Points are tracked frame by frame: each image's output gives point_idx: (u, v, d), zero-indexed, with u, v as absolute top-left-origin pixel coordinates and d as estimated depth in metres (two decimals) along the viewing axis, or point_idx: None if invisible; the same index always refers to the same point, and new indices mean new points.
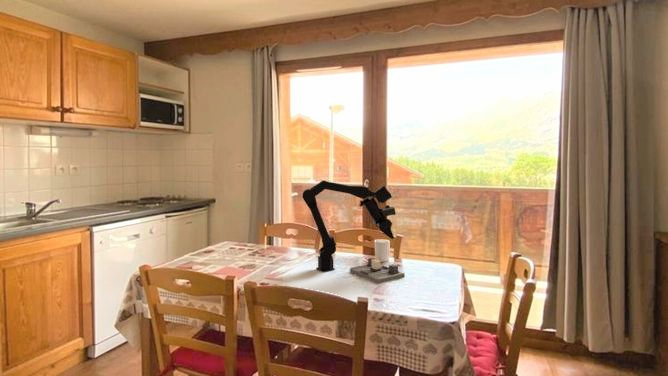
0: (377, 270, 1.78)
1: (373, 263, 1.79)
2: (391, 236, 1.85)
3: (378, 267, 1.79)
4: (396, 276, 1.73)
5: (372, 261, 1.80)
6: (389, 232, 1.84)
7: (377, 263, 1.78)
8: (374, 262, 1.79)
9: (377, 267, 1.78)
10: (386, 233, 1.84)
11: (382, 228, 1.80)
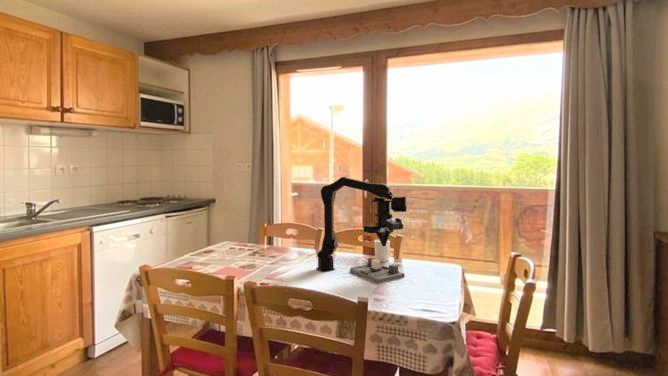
0: (377, 270, 1.78)
1: (373, 263, 1.79)
2: (382, 243, 1.81)
3: (378, 267, 1.79)
4: (396, 276, 1.73)
5: (372, 261, 1.80)
6: (381, 238, 1.80)
7: (377, 263, 1.78)
8: (374, 262, 1.79)
9: (377, 267, 1.78)
10: (379, 237, 1.81)
11: (364, 230, 1.77)
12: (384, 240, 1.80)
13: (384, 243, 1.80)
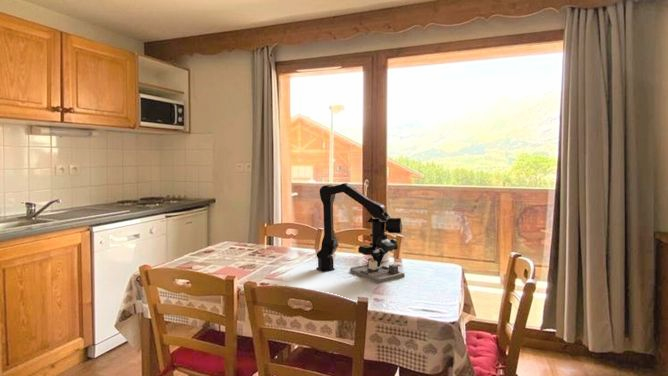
0: (374, 271, 1.77)
1: (370, 264, 1.78)
2: None
3: (375, 268, 1.78)
4: (396, 276, 1.73)
5: (369, 262, 1.79)
6: (376, 258, 1.80)
7: (374, 264, 1.77)
8: (371, 263, 1.78)
9: (374, 268, 1.77)
10: (373, 257, 1.81)
11: (359, 251, 1.77)
12: (379, 261, 1.79)
13: (378, 264, 1.80)
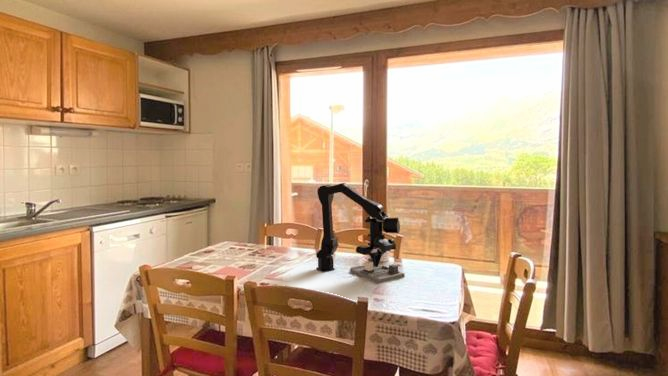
0: (370, 271, 1.76)
1: (366, 264, 1.77)
2: (374, 263, 1.79)
3: (371, 268, 1.76)
4: (396, 276, 1.73)
5: (365, 262, 1.77)
6: (373, 258, 1.79)
7: (370, 264, 1.76)
8: (367, 263, 1.76)
9: (370, 268, 1.76)
10: (371, 257, 1.80)
11: (356, 251, 1.76)
12: (376, 261, 1.78)
13: (376, 264, 1.79)
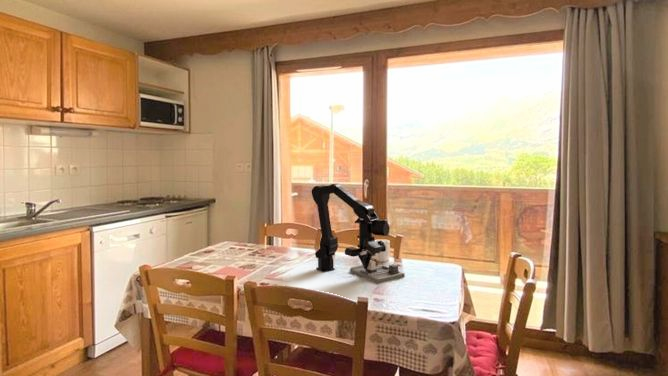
0: (372, 271, 1.76)
1: None
2: (364, 265, 1.76)
3: (373, 268, 1.77)
4: (396, 276, 1.73)
5: None
6: (363, 261, 1.76)
7: (372, 264, 1.77)
8: (369, 263, 1.77)
9: (372, 268, 1.77)
10: (361, 259, 1.77)
11: (345, 253, 1.73)
12: (366, 263, 1.75)
13: (366, 266, 1.76)
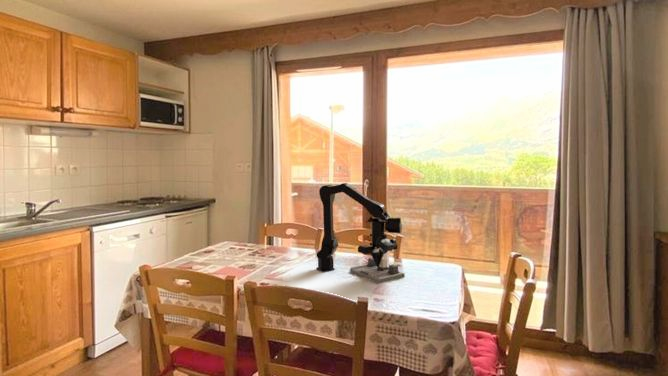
0: (384, 269, 1.80)
1: (380, 262, 1.81)
2: (376, 263, 1.80)
3: (385, 266, 1.81)
4: (396, 276, 1.73)
5: None
6: (375, 258, 1.79)
7: (384, 262, 1.80)
8: (381, 261, 1.81)
9: (384, 266, 1.81)
10: (373, 257, 1.80)
11: (358, 250, 1.76)
12: (378, 260, 1.79)
13: (378, 263, 1.80)
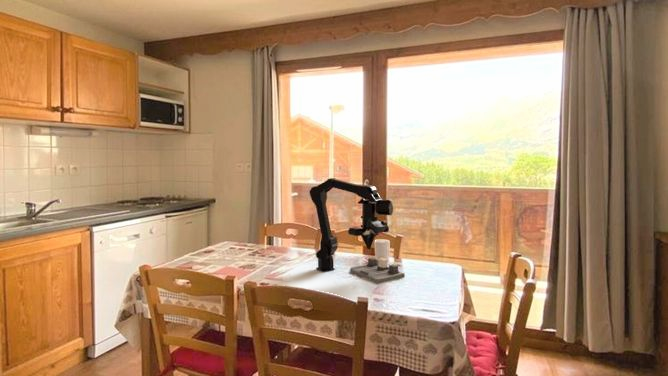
0: (384, 269, 1.80)
1: (380, 262, 1.81)
2: (367, 245, 1.78)
3: (385, 266, 1.81)
4: (396, 276, 1.73)
5: (379, 260, 1.82)
6: (366, 241, 1.78)
7: (384, 262, 1.80)
8: (381, 261, 1.81)
9: (384, 266, 1.81)
10: (364, 239, 1.79)
11: (349, 232, 1.75)
12: (369, 243, 1.78)
13: (369, 246, 1.78)
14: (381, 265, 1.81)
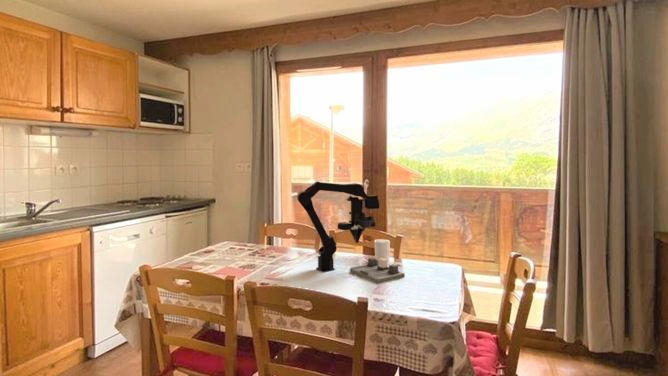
0: (384, 269, 1.80)
1: (380, 262, 1.81)
2: (355, 239, 1.90)
3: (385, 266, 1.81)
4: (396, 276, 1.73)
5: (379, 260, 1.82)
6: (354, 235, 1.90)
7: (384, 262, 1.80)
8: (381, 261, 1.81)
9: (384, 266, 1.81)
10: (352, 234, 1.91)
11: (338, 227, 1.87)
12: (357, 237, 1.90)
13: (357, 240, 1.90)
14: (381, 265, 1.81)
